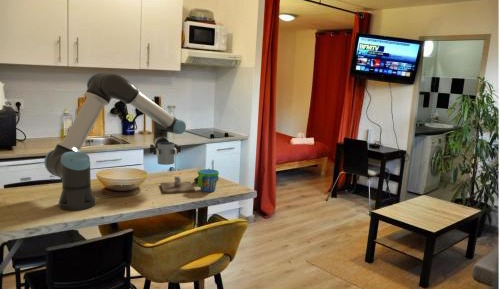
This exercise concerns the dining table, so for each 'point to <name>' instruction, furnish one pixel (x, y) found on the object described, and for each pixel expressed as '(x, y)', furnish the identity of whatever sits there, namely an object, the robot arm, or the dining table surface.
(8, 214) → the dining table surface
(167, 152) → the grey pen holder
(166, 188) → the shaft stand
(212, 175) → the snack cup
